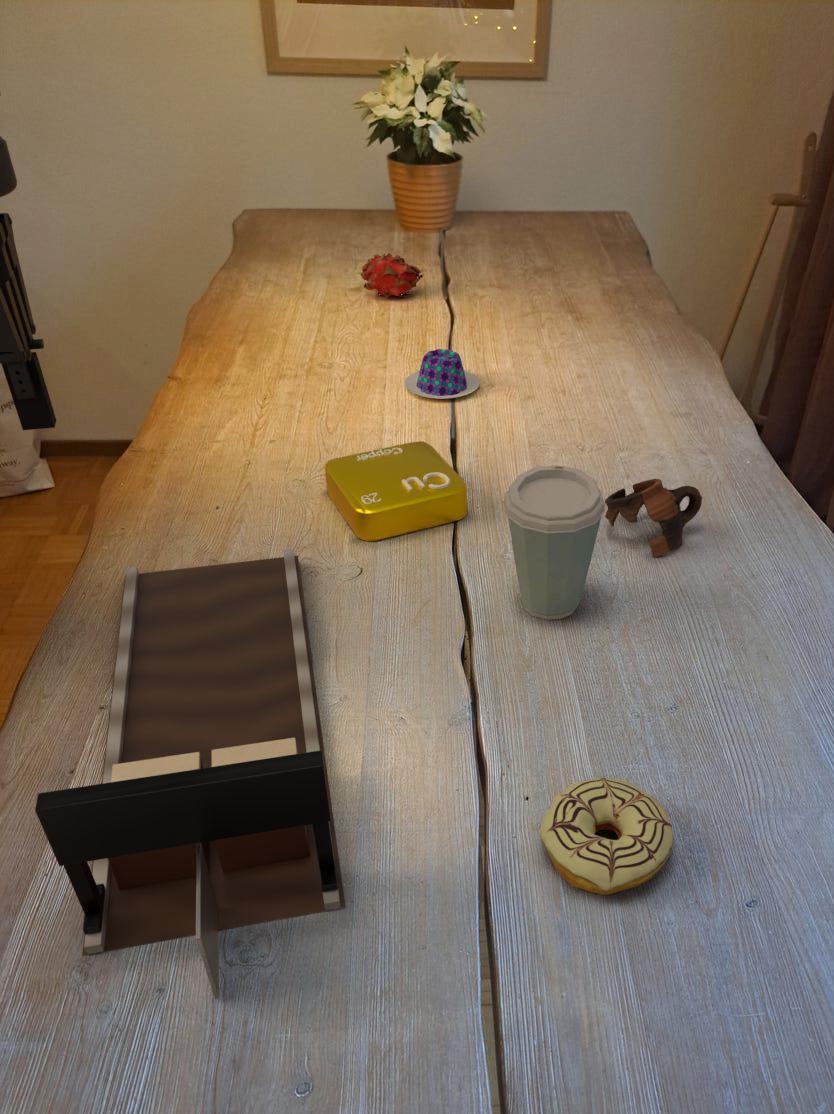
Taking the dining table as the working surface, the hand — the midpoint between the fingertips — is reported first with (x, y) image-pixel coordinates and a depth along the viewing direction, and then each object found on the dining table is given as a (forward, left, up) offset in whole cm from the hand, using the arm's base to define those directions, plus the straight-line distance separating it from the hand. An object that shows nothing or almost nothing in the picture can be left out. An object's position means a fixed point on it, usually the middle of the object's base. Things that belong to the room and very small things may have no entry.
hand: (39, 425), depth 85 cm
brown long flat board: (+18, -8, -24) cm, 31 cm away
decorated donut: (+57, -12, -25) cm, 63 cm away
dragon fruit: (-9, +108, -25) cm, 111 cm away
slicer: (+31, -30, -23) cm, 49 cm away
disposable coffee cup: (+44, +20, -25) cm, 54 cm away
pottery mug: (+53, +38, -25) cm, 70 cm away
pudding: (+14, +71, -25) cm, 76 cm away
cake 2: (+29, -19, -23) cm, 42 cm away
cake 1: (+22, -23, -23) cm, 39 cm away
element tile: (+20, +35, -25) cm, 47 cm away
